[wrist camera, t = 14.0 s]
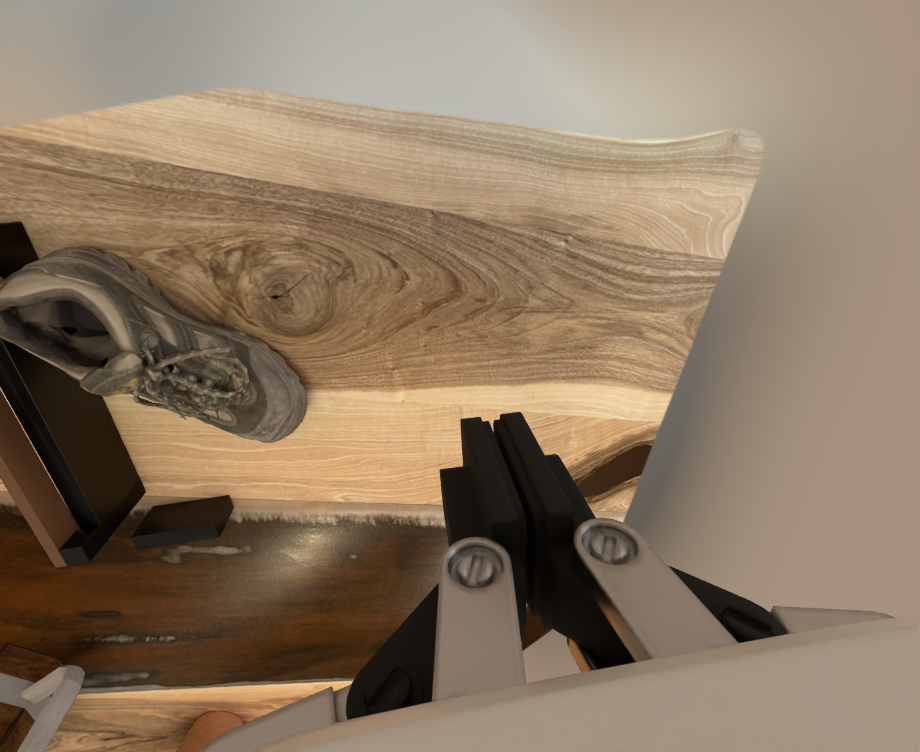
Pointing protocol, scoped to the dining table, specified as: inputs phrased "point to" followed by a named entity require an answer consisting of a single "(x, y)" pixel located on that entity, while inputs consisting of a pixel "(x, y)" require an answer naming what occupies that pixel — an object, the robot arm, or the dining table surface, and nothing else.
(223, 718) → the potted plant
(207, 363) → the hiking shoe
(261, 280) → the dining table surface
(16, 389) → the shoe rack
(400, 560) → the dining table surface
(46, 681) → the mug
